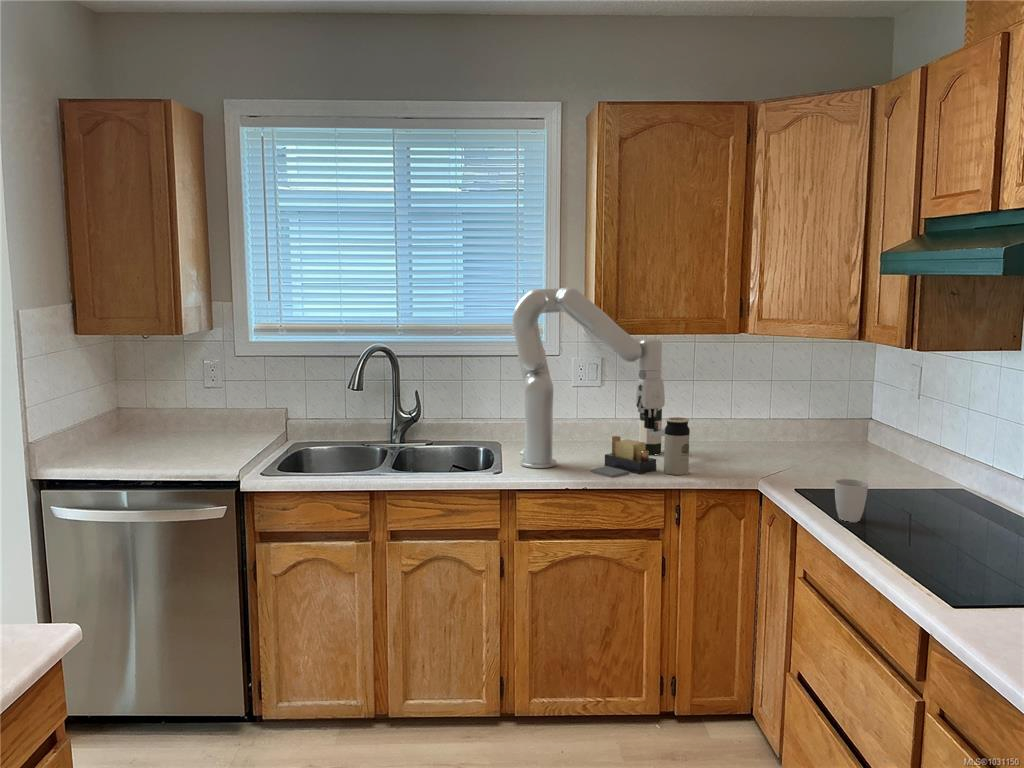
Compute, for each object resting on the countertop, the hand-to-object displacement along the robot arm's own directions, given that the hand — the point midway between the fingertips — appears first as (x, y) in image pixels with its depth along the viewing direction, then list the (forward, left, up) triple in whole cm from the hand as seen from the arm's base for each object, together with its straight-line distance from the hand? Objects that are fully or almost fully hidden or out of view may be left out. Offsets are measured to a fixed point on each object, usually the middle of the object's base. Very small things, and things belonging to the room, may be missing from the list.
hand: (649, 428), depth 275 cm
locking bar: (0, +9, -3) cm, 10 cm away
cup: (+77, -8, -13) cm, 78 cm away
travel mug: (+14, -2, -13) cm, 19 cm away
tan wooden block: (0, -9, -9) cm, 13 cm away
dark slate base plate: (0, -9, -13) cm, 16 cm away
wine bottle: (-12, +15, -13) cm, 23 cm away
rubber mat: (0, -19, -13) cm, 23 cm away
